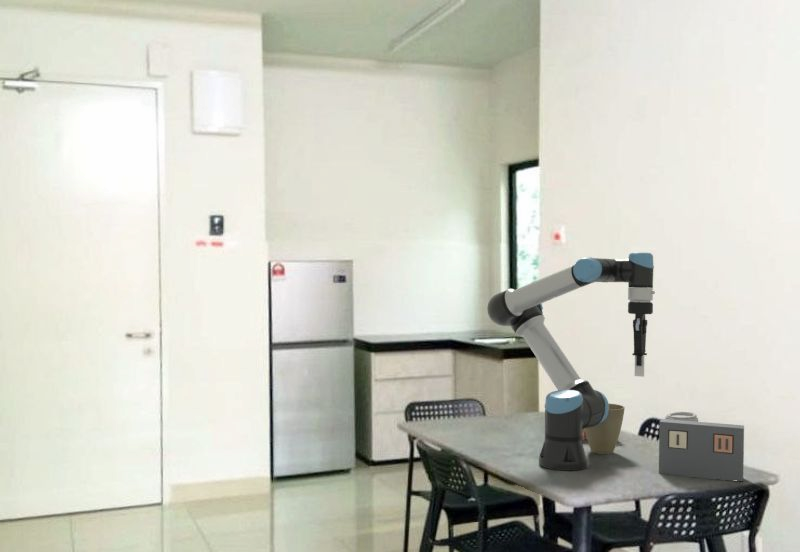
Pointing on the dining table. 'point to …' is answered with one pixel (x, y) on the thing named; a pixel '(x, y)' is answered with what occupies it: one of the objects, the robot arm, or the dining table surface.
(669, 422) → the button panel
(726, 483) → the dining table surface
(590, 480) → the dining table surface
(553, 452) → the robot arm
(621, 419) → the plant pot
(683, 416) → the disposable coffee cup
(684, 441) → the button one
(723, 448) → the button two
